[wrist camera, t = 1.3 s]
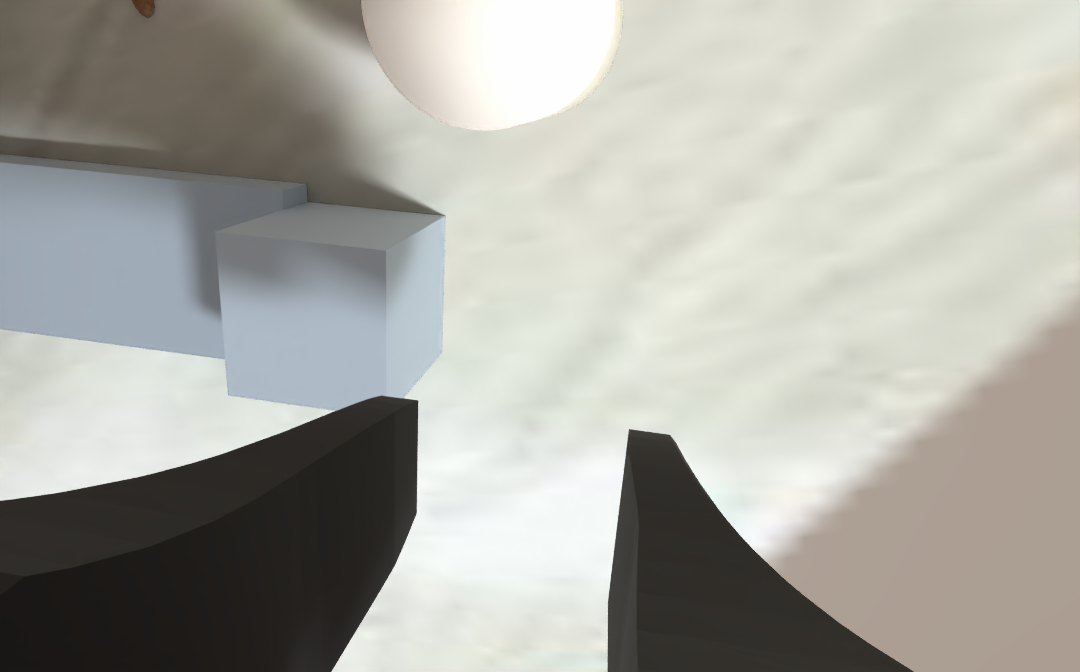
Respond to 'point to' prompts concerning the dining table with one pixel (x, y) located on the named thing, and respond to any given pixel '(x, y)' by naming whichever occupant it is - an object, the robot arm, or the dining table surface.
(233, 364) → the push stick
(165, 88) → the dining table surface
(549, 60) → the white rounded cylinder
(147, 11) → the hand saw
